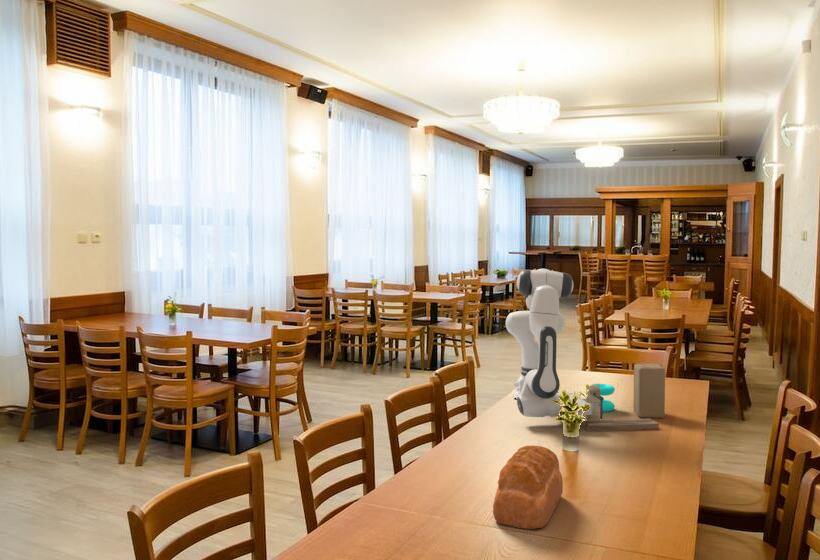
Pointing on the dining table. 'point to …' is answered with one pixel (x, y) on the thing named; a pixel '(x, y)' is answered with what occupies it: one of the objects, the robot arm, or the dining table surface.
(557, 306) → the robot arm
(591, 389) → the gauge
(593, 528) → the dining table surface
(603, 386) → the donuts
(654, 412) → the grey rectangular block
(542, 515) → the bread
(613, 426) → the board
